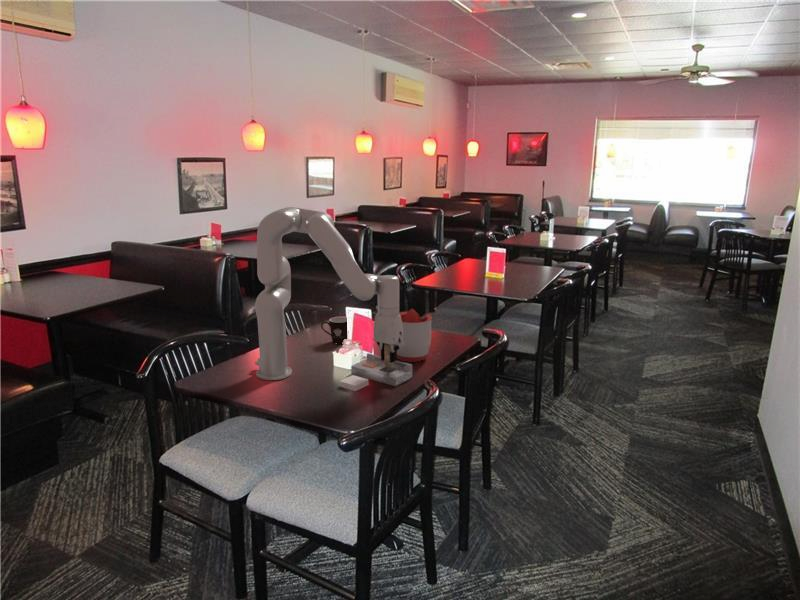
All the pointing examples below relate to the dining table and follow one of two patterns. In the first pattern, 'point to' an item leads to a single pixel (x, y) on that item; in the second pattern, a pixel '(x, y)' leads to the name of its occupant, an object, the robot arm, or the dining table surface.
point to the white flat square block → (354, 383)
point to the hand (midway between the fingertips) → (388, 360)
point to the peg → (387, 355)
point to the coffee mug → (337, 329)
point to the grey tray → (382, 370)
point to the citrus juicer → (415, 336)
